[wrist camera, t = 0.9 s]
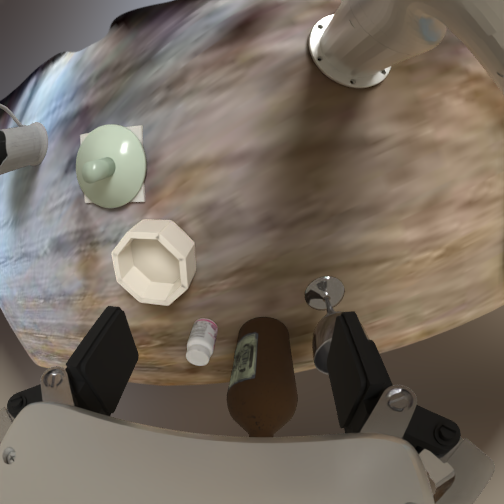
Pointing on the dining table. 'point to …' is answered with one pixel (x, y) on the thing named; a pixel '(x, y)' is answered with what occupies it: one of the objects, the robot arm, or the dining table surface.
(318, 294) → the wine glass
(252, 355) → the olive oil
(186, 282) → the bowl
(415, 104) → the dining table surface
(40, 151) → the glass holder
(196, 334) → the pill bottle
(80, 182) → the lid
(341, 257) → the dining table surface
